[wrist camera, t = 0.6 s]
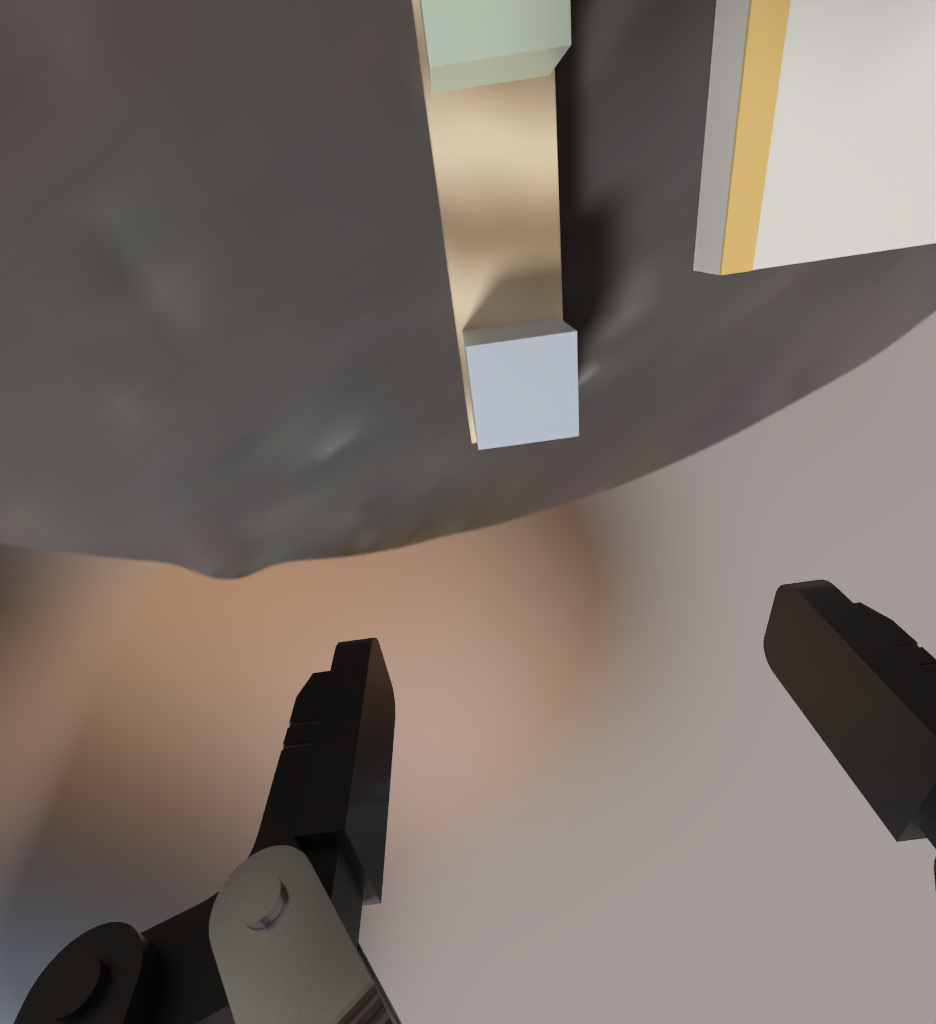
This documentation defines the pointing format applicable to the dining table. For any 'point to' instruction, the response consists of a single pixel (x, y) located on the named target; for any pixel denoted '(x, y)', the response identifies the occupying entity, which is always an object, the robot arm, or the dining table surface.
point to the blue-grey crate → (523, 382)
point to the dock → (817, 132)
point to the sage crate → (492, 40)
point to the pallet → (496, 200)
